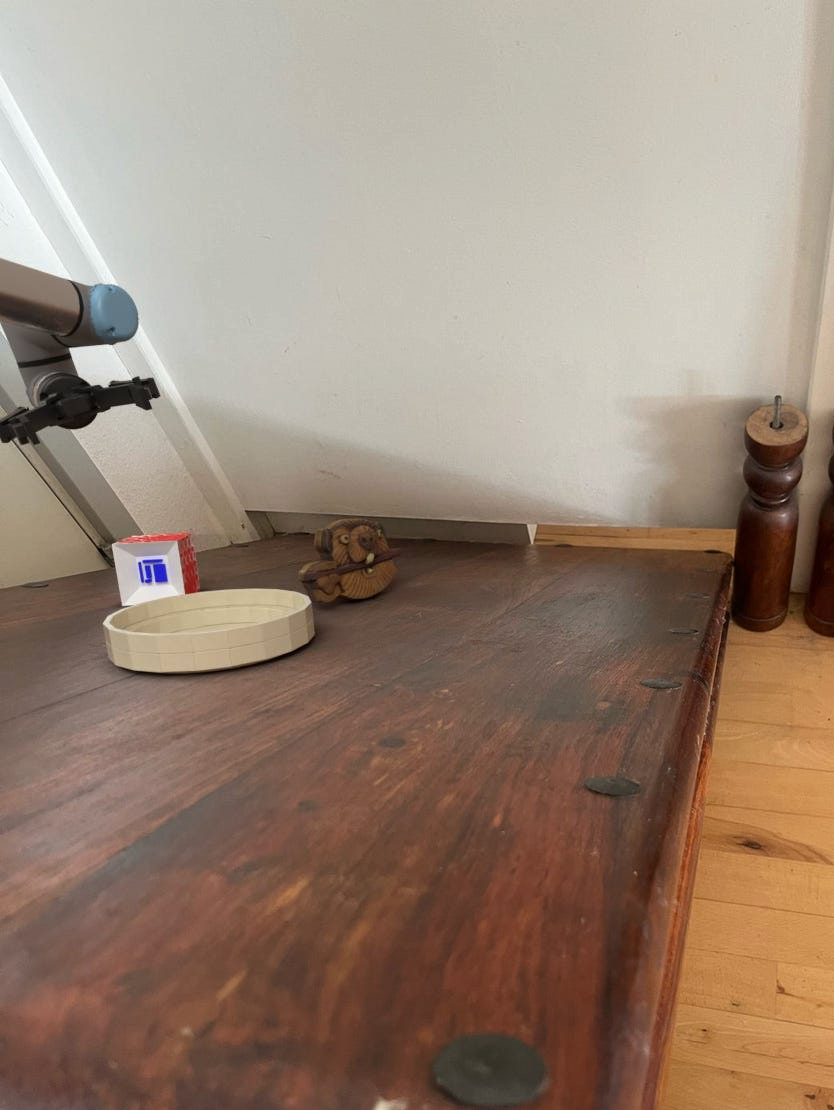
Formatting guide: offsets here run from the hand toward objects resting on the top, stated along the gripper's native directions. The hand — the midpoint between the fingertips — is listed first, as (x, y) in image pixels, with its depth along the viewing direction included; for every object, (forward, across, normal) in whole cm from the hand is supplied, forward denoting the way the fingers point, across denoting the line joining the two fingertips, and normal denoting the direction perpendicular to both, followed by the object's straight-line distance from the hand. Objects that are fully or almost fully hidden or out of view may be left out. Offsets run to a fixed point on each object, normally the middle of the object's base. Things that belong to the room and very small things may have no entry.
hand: (90, 415), depth 94 cm
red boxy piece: (+4, +2, -24) cm, 24 cm away
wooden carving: (+24, -18, -26) cm, 39 cm away
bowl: (+34, +2, -19) cm, 39 cm away
